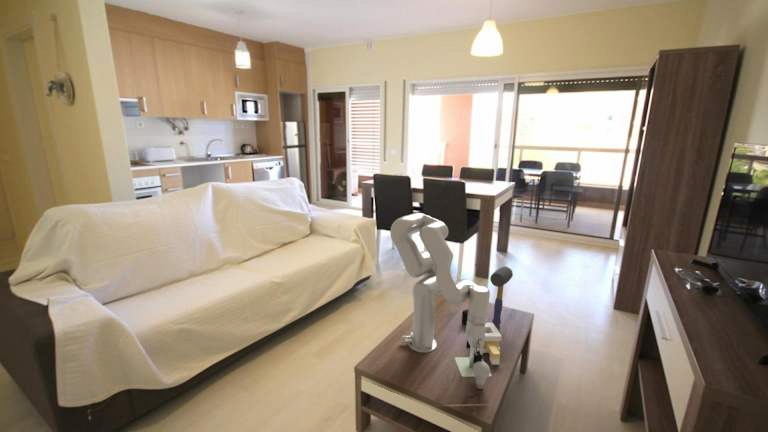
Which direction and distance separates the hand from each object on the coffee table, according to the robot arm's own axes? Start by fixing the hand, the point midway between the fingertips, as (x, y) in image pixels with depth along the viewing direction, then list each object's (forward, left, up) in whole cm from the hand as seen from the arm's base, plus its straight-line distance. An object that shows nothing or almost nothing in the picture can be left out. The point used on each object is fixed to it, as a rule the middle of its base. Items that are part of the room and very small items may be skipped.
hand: (473, 355), depth 143 cm
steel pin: (0, 0, -5) cm, 5 cm away
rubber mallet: (+22, +32, -6) cm, 39 cm away
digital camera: (+11, +34, -6) cm, 36 cm away
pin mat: (0, 0, -6) cm, 6 cm away
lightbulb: (-1, -12, -6) cm, 13 cm away
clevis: (+10, +11, -6) cm, 16 cm away
